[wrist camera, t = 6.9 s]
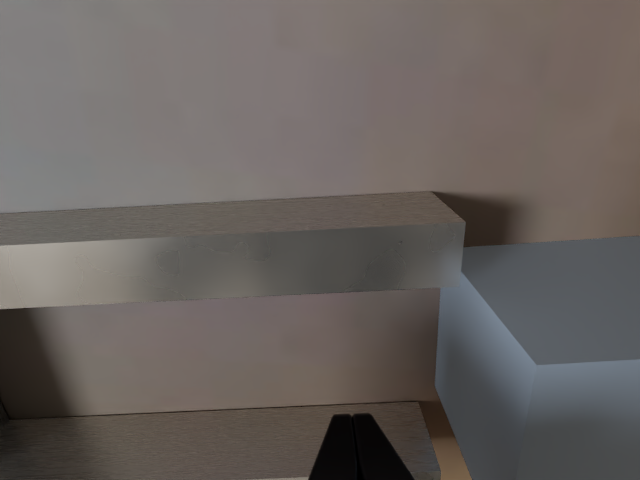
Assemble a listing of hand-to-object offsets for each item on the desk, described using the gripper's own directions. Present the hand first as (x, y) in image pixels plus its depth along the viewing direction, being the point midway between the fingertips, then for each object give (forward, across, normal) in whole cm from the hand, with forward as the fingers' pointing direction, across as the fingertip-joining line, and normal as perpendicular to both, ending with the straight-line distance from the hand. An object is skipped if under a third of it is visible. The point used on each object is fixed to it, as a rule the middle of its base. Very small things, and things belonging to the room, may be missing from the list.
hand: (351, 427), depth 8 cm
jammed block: (+4, -6, 0) cm, 7 cm away
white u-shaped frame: (+4, +4, 0) cm, 6 cm away
